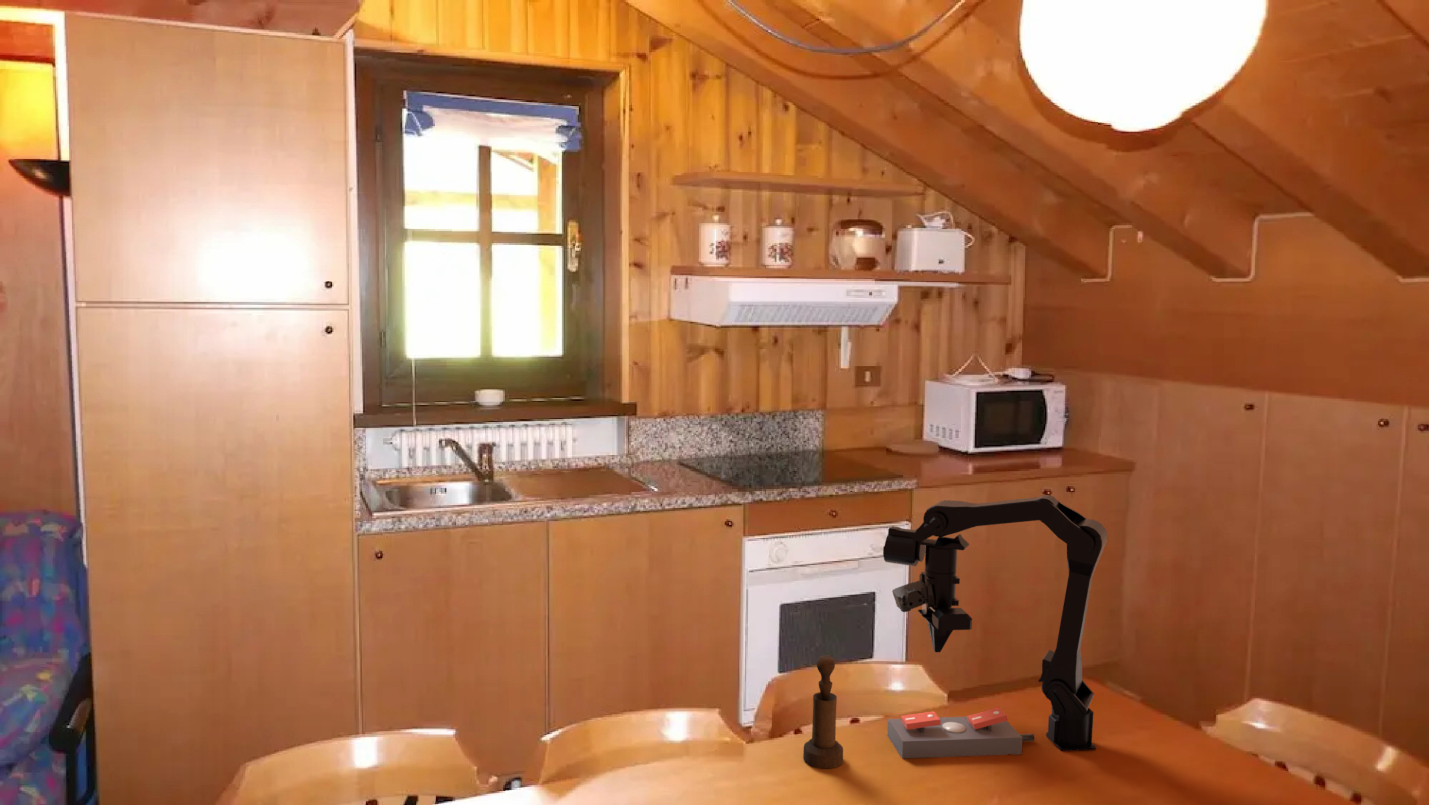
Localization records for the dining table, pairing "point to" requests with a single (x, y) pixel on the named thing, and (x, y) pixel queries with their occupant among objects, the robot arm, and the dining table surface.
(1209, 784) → the dining table surface
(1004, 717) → the switch
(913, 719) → the switch
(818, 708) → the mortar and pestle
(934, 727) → the switch panel
